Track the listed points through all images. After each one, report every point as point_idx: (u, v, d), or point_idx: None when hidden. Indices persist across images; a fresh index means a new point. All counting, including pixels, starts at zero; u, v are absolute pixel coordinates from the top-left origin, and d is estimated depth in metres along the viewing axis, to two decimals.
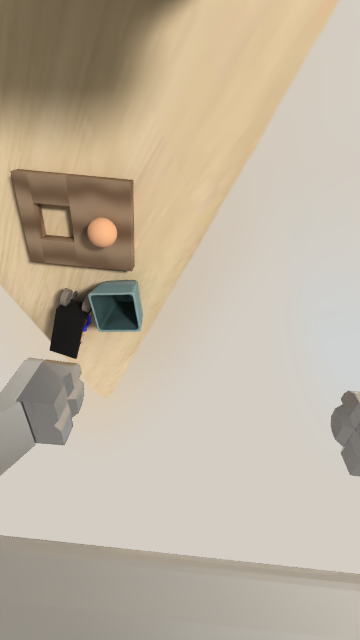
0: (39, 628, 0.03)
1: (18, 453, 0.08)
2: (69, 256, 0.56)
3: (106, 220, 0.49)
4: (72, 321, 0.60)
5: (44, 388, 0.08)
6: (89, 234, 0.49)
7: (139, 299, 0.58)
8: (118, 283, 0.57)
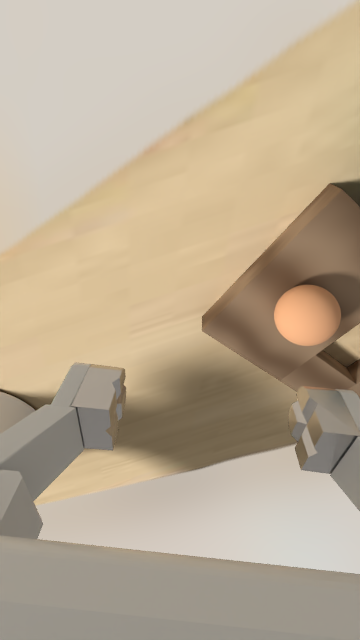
0: (39, 628, 0.03)
1: (69, 458, 0.08)
2: None
3: None
4: None
5: (96, 393, 0.08)
6: None
7: None
8: None
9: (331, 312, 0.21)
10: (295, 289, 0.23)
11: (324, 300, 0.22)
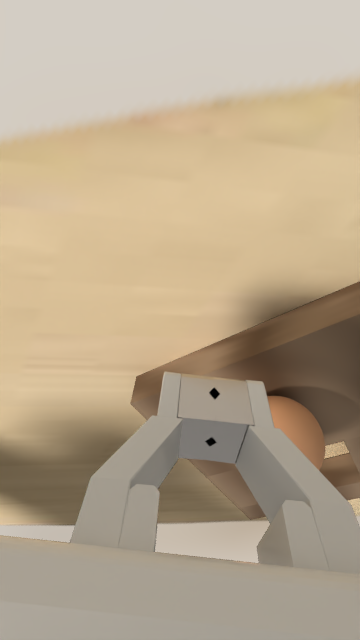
0: (39, 628, 0.03)
1: (168, 468, 0.08)
2: None
3: None
4: None
5: (197, 404, 0.07)
6: None
7: None
8: None
9: (318, 460, 0.15)
10: (278, 406, 0.16)
11: (314, 441, 0.15)
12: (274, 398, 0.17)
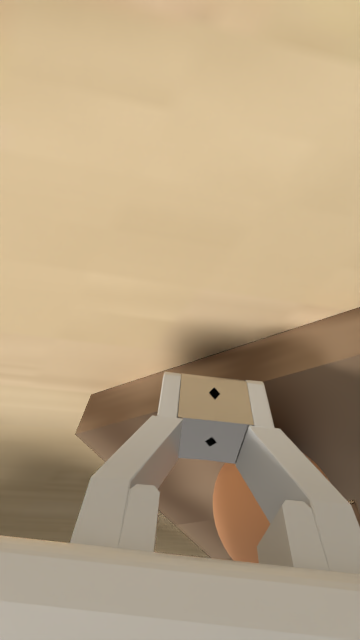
0: (39, 628, 0.03)
1: (168, 468, 0.08)
2: None
3: (213, 513, 0.12)
4: None
5: (197, 404, 0.07)
6: None
7: None
8: None
9: None
10: None
11: None
12: None
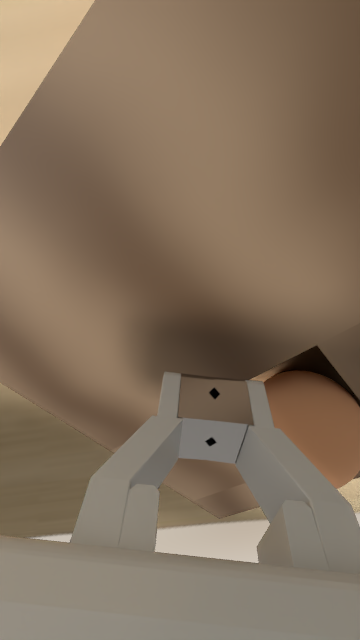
0: (39, 628, 0.03)
1: (168, 468, 0.08)
2: None
3: None
4: None
5: (197, 404, 0.07)
6: (282, 397, 0.12)
7: None
8: None
9: None
10: None
11: None
12: None
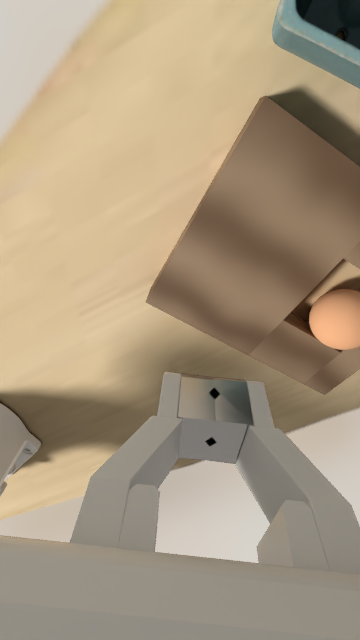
0: (39, 628, 0.03)
1: (168, 468, 0.08)
2: None
3: None
4: None
5: (197, 404, 0.07)
6: (323, 305, 0.23)
7: None
8: (336, 75, 0.14)
9: None
10: None
11: None
12: None
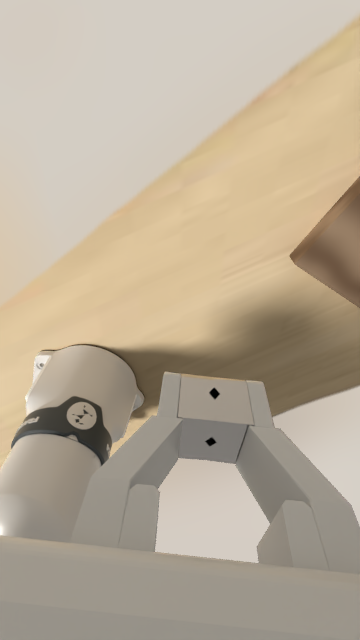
0: (39, 628, 0.03)
1: (168, 468, 0.08)
2: None
3: None
4: None
5: (197, 404, 0.07)
6: None
7: None
8: None
9: None
10: None
11: None
12: None
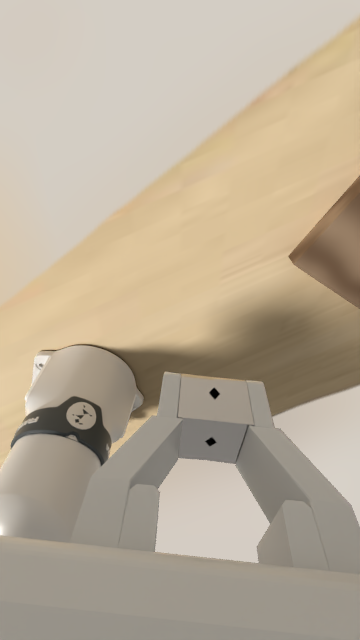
0: (39, 628, 0.03)
1: (168, 468, 0.08)
2: None
3: None
4: None
5: (197, 404, 0.07)
6: None
7: None
8: None
9: None
10: None
11: None
12: None
